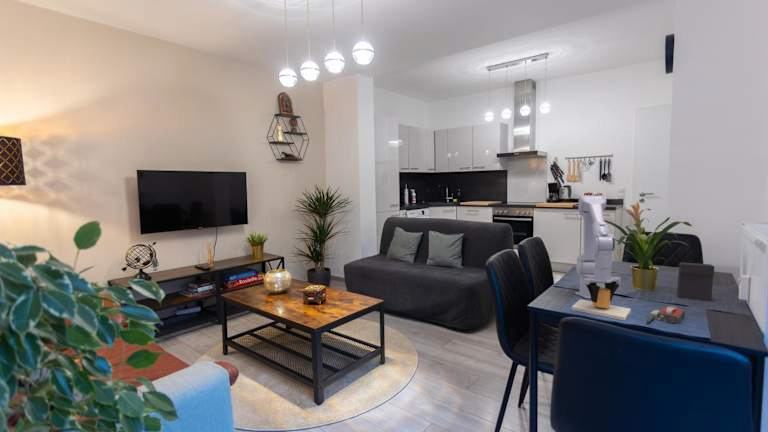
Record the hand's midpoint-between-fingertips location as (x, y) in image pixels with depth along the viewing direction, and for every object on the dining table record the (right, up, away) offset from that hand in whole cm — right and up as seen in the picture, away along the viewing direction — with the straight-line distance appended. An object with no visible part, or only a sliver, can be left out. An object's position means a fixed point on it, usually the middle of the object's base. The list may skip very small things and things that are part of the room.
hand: (601, 301), depth 147 cm
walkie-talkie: (+18, -5, -9) cm, 21 cm away
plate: (0, -4, 0) cm, 4 cm away
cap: (0, -2, 0) cm, 2 cm away
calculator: (+48, -2, +14) cm, 50 cm away
